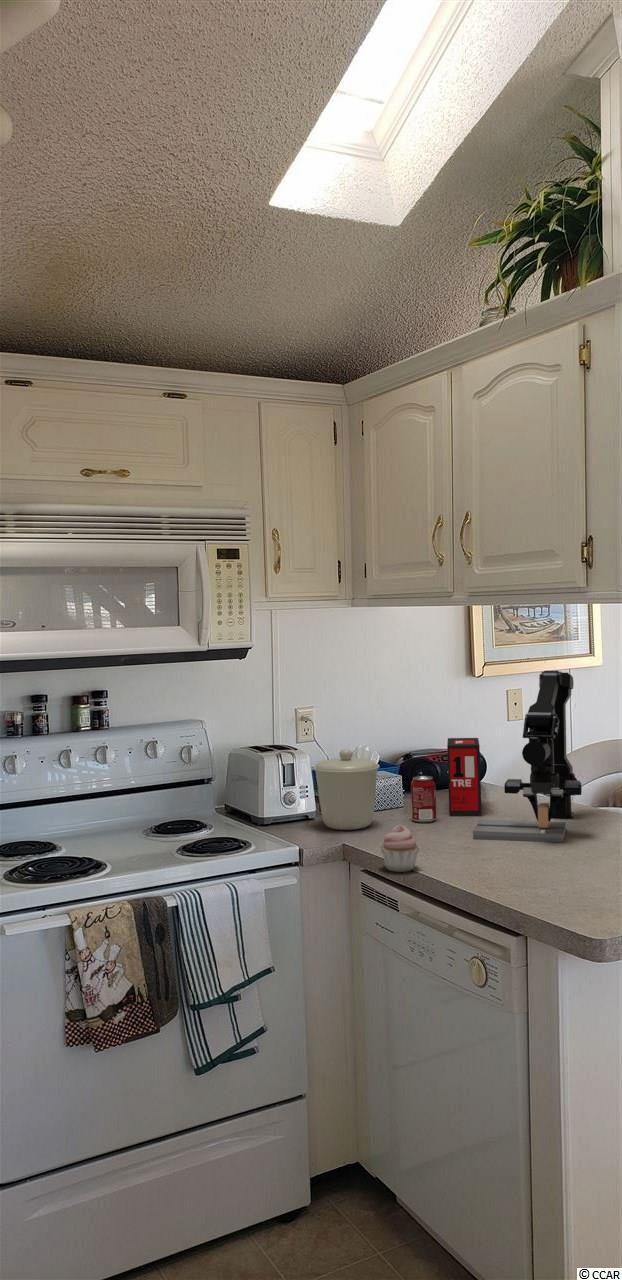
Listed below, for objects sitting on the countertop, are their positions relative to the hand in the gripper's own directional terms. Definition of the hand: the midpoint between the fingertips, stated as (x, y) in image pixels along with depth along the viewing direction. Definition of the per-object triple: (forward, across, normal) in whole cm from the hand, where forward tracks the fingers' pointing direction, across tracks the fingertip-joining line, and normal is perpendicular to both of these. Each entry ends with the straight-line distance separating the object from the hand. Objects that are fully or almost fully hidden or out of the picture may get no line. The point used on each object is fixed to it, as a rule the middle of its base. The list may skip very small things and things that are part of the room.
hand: (543, 820), depth 236 cm
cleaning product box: (+4, -24, +28) cm, 37 cm away
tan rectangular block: (+2, 0, 0) cm, 2 cm away
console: (+4, -6, 0) cm, 7 cm away
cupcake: (+4, -29, -38) cm, 48 cm away
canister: (+4, -52, +2) cm, 52 cm away
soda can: (+4, -33, +12) cm, 35 cm away
